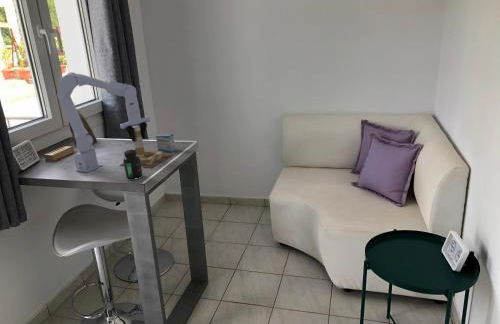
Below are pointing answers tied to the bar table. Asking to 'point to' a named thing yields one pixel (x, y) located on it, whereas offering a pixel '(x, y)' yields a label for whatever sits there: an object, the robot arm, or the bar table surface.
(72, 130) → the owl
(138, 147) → the sprinkles bottle
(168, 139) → the medicine box
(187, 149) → the bar table surface
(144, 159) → the socket block
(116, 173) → the bar table surface
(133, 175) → the supplement bottle
